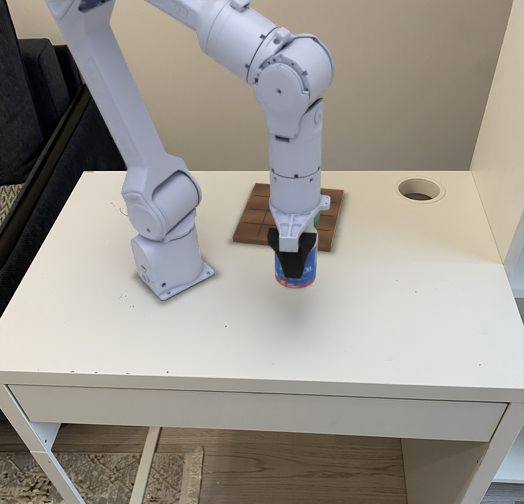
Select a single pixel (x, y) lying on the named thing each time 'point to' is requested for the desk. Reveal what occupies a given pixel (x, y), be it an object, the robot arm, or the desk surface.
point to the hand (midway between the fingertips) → (295, 261)
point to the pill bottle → (309, 268)
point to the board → (261, 219)
